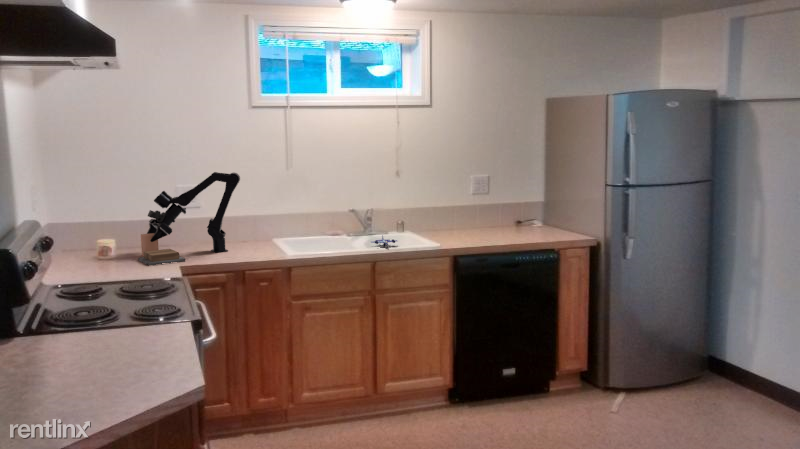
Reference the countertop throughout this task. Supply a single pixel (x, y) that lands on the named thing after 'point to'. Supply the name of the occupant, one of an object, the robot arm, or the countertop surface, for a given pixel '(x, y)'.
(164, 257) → the tower base
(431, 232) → the countertop surface
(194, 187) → the robot arm
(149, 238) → the terracotta brick
